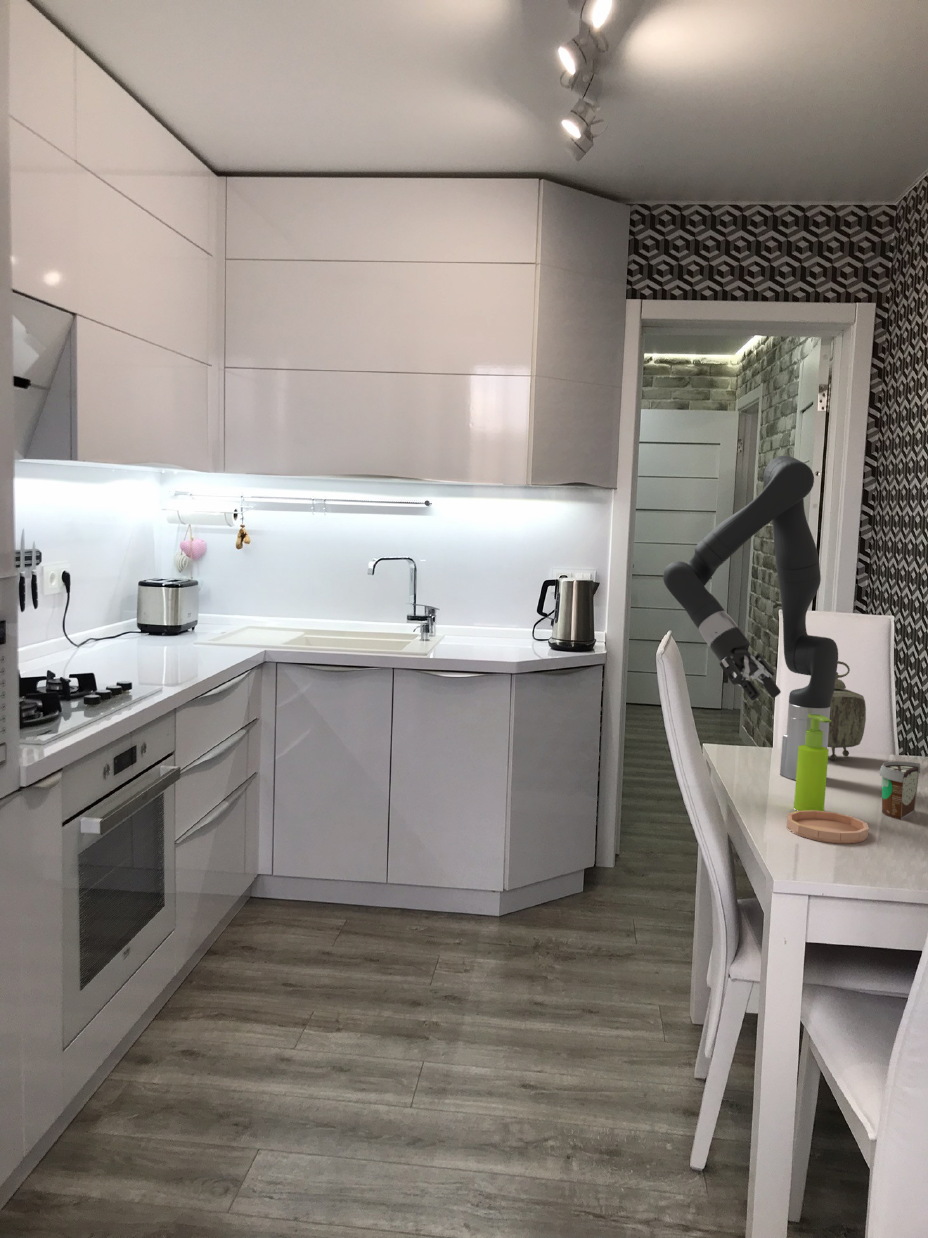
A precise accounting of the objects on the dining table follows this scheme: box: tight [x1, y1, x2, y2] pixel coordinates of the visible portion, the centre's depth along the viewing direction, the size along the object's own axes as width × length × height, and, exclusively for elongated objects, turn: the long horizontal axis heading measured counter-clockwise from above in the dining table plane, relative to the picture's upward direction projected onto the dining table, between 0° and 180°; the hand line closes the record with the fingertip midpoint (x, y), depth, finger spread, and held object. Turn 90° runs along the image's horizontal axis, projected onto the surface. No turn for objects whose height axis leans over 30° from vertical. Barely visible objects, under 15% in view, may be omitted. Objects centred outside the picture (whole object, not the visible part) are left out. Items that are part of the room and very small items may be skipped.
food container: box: [878, 760, 921, 821], centre depth 213 cm, size 12×6×10 cm, turn 141°
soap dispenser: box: [793, 714, 831, 811], centre depth 210 cm, size 6×7×20 cm
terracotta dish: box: [786, 810, 870, 844], centre depth 197 cm, size 15×15×2 cm
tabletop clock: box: [827, 660, 867, 762], centre depth 260 cm, size 14×9×25 cm, turn 94°
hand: (767, 696), depth 217 cm, fingers open, 8 cm apart
